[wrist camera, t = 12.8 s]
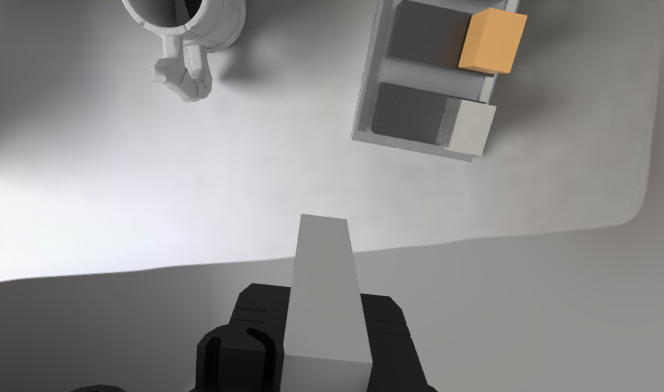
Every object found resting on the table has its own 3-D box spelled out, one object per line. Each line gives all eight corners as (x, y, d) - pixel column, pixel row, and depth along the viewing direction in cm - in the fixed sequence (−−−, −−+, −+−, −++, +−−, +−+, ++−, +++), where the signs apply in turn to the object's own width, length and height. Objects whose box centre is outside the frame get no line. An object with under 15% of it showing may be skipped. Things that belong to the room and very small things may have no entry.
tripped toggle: (458, 67, 32) (473, 65, 28) (471, 15, 31) (490, 7, 27) (490, 73, 32) (509, 73, 28) (505, 22, 31) (527, 15, 27)
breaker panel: (350, 136, 39) (357, 152, 30) (396, -92, 33) (420, -149, 25) (464, 157, 39) (500, 178, 31) (528, -62, 34) (594, -107, 25)
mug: (248, -36, 34) (208, -93, 23) (250, 100, 37) (216, 110, 26) (162, -41, 34) (77, -102, 22) (172, 96, 37) (103, 105, 26)
